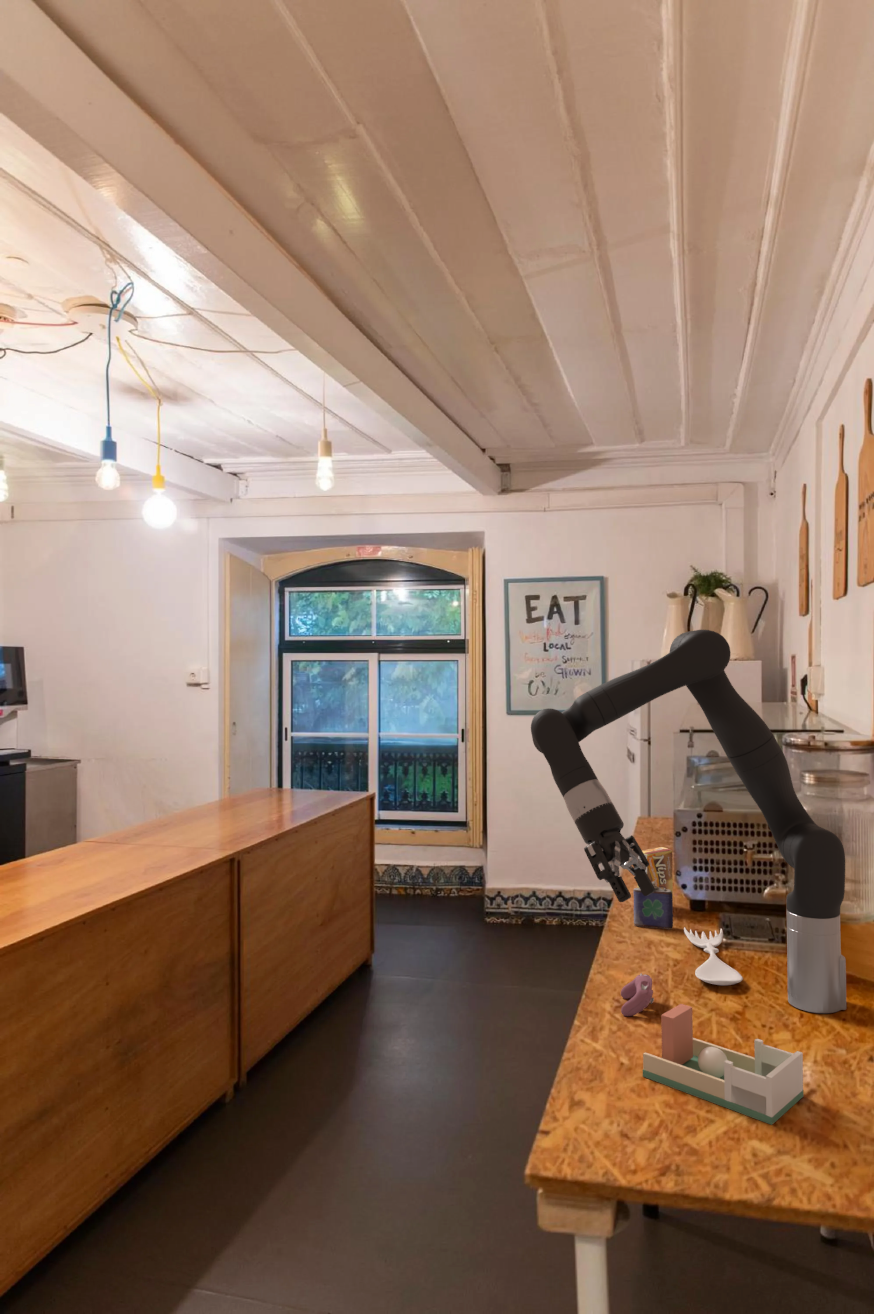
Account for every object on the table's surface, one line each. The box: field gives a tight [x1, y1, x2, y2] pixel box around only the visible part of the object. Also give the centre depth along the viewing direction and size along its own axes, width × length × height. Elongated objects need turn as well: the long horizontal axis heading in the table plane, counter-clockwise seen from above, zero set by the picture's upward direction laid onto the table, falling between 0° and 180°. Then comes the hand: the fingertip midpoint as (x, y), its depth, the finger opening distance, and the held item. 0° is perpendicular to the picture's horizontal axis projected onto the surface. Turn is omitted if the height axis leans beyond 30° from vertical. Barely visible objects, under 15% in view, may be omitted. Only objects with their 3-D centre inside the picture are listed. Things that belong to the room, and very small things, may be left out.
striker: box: [660, 1003, 694, 1065], centre depth 137 cm, size 2×6×8 cm, turn 135°
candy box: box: [636, 846, 674, 899], centre depth 224 cm, size 9×4×15 cm, turn 121°
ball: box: [698, 1047, 727, 1078], centre depth 133 cm, size 4×4×4 cm
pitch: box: [642, 1037, 805, 1125], centre depth 132 cm, size 20×11×4 cm, turn 45°
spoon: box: [683, 926, 744, 986], centre depth 185 cm, size 9×32×4 cm, turn 170°
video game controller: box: [620, 972, 655, 1017], centre depth 162 cm, size 10×5×7 cm, turn 169°
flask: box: [632, 881, 674, 930], centre depth 210 cm, size 9×3×11 cm, turn 71°
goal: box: [724, 1038, 804, 1117], centre depth 127 cm, size 7×11×6 cm, turn 135°
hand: (638, 897), depth 147 cm, fingers open, 8 cm apart
